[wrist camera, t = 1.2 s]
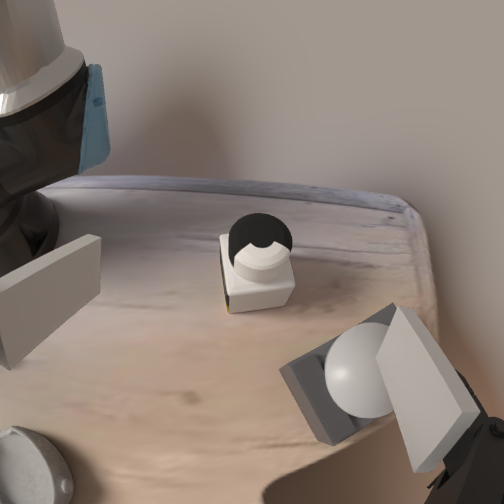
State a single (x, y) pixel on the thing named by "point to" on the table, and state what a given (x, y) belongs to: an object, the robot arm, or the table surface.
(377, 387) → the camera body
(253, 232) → the medicine bottle
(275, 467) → the table surface
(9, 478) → the dish
